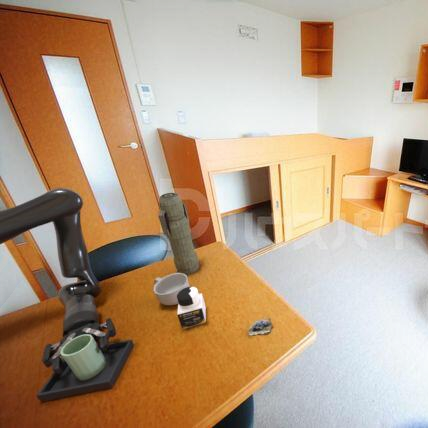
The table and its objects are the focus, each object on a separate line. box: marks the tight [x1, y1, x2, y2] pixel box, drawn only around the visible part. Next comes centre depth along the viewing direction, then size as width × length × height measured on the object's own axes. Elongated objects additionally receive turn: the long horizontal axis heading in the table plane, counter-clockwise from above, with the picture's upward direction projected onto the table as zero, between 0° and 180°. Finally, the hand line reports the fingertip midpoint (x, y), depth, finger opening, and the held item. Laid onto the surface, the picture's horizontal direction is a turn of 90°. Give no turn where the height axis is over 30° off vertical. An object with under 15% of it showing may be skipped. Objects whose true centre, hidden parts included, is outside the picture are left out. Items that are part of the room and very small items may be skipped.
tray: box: [35, 339, 135, 402], centre depth 65 cm, size 15×12×3 cm
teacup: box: [153, 272, 191, 306], centre depth 88 cm, size 14×11×8 cm
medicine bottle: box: [176, 286, 207, 330], centre depth 79 cm, size 7×7×12 cm
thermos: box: [157, 192, 200, 276], centre depth 98 cm, size 9×12×35 cm
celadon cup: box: [60, 334, 106, 380], centre depth 63 cm, size 6×6×10 cm
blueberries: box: [247, 318, 274, 336], centre depth 78 cm, size 7×8×2 cm
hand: (82, 359), depth 61 cm, fingers open, 8 cm apart
